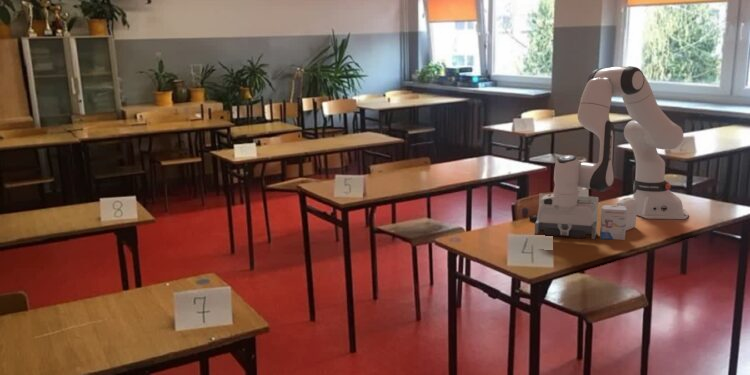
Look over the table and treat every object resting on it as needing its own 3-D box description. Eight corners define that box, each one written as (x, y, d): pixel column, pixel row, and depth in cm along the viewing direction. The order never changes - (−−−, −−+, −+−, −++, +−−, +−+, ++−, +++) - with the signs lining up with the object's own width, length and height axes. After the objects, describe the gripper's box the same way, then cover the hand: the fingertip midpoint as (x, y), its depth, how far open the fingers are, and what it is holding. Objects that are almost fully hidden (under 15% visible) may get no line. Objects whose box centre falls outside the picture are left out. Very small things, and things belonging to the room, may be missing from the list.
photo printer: (623, 232, 243) (624, 201, 240) (612, 230, 246) (614, 199, 243) (637, 227, 249) (639, 196, 246) (627, 225, 252) (628, 194, 250)
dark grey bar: (585, 228, 238) (584, 234, 236) (585, 234, 240) (585, 240, 238) (544, 225, 244) (543, 230, 242) (545, 231, 246) (544, 236, 244)
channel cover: (596, 222, 242) (597, 221, 243) (598, 197, 242) (598, 197, 242) (538, 217, 251) (538, 217, 251) (539, 193, 250) (539, 193, 251)
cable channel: (596, 233, 243) (596, 222, 242) (594, 239, 236) (595, 227, 235) (537, 228, 252) (538, 217, 251) (534, 234, 245) (535, 223, 244)
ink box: (600, 239, 237) (602, 208, 234) (599, 235, 241) (601, 204, 239) (625, 240, 234) (627, 209, 232) (623, 236, 239) (625, 205, 236)
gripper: (595, 198, 234) (594, 234, 237) (539, 195, 242) (538, 230, 245) (594, 203, 229) (593, 239, 232) (536, 199, 236) (536, 235, 240)
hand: (564, 234), depth 239 cm, fingers closed
